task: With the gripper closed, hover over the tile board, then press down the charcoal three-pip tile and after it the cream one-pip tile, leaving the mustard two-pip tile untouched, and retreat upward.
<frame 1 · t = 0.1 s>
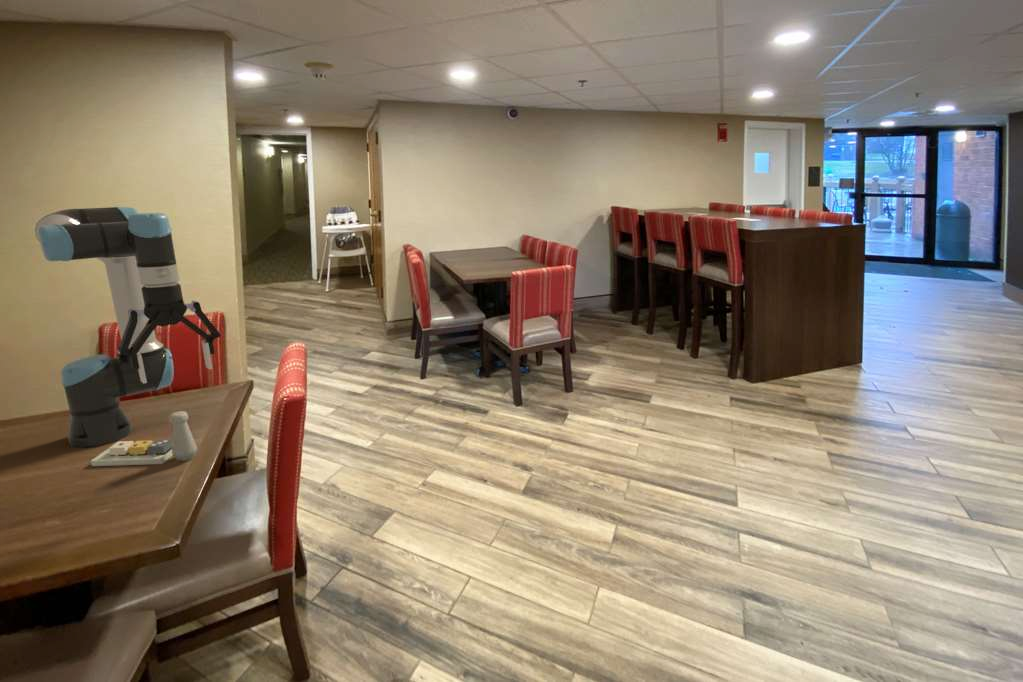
hand: (177, 374, 131), 28 cm above the table, fingers open, 13 cm apart
tile board: (137, 456, 152), on the table
tile 1: (121, 447, 151), point 3 cm above the table, slide at 0.0 cm
tile 2: (140, 447, 151), point 3 cm above the table, slide at 0.0 cm
salt shaker: (186, 458, 151), on the table
tile 3: (159, 446, 151), point 3 cm above the table, slide at 0.0 cm
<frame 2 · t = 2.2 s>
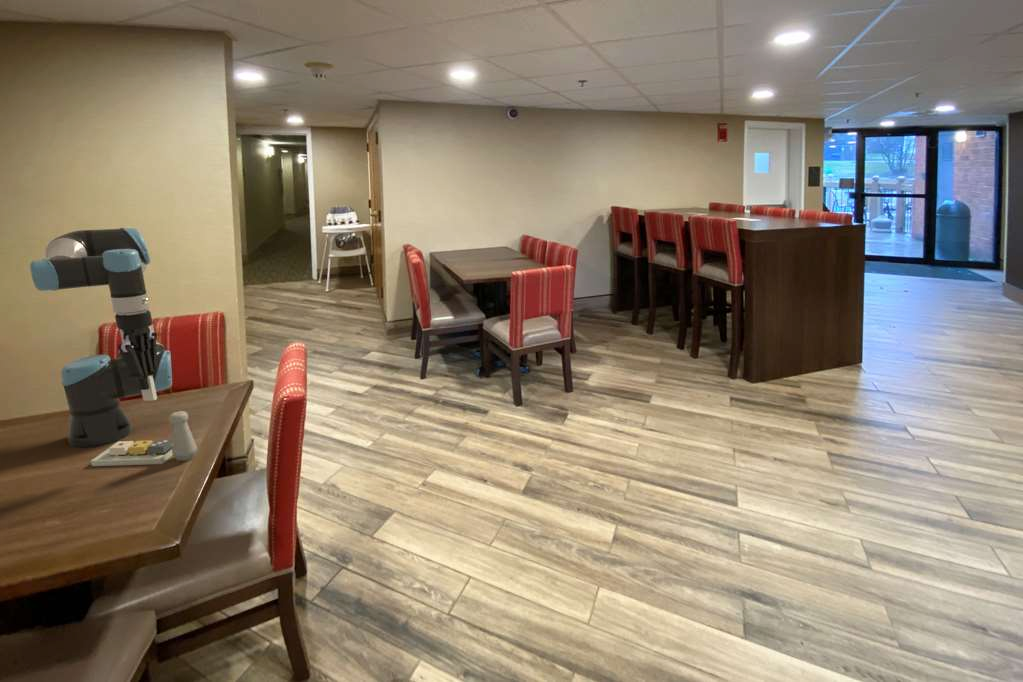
hand: (150, 399, 147), 16 cm above the table, fingers closed
nothing on the table moved.
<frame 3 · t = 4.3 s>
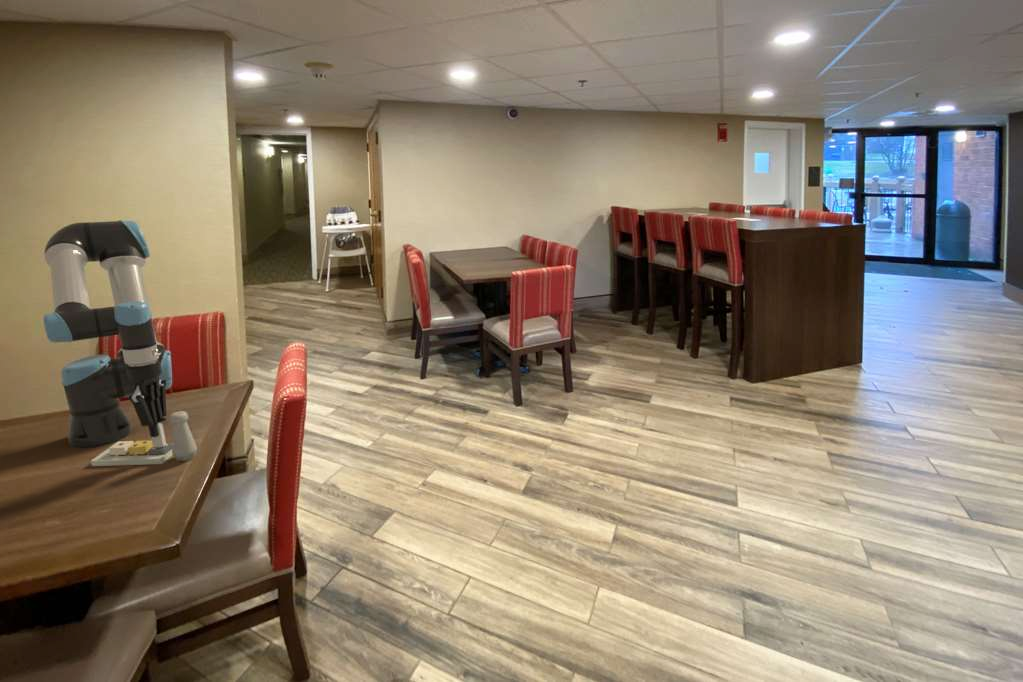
hand: (159, 445, 151), 3 cm above the table, fingers closed
tile 3: (160, 450, 151), point 2 cm above the table, slide at 1.0 cm, touching gripper
everything else where it was.
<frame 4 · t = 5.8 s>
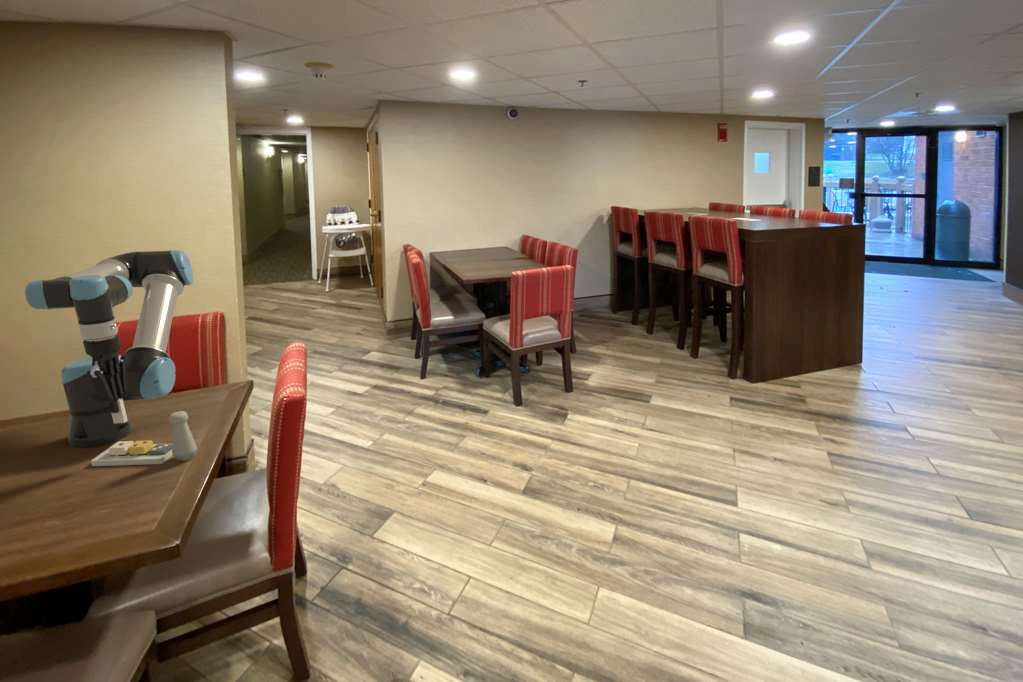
hand: (120, 421, 149), 10 cm above the table, fingers closed
tile 3: (160, 450, 151), point 2 cm above the table, slide at 1.2 cm
everything else where it was.
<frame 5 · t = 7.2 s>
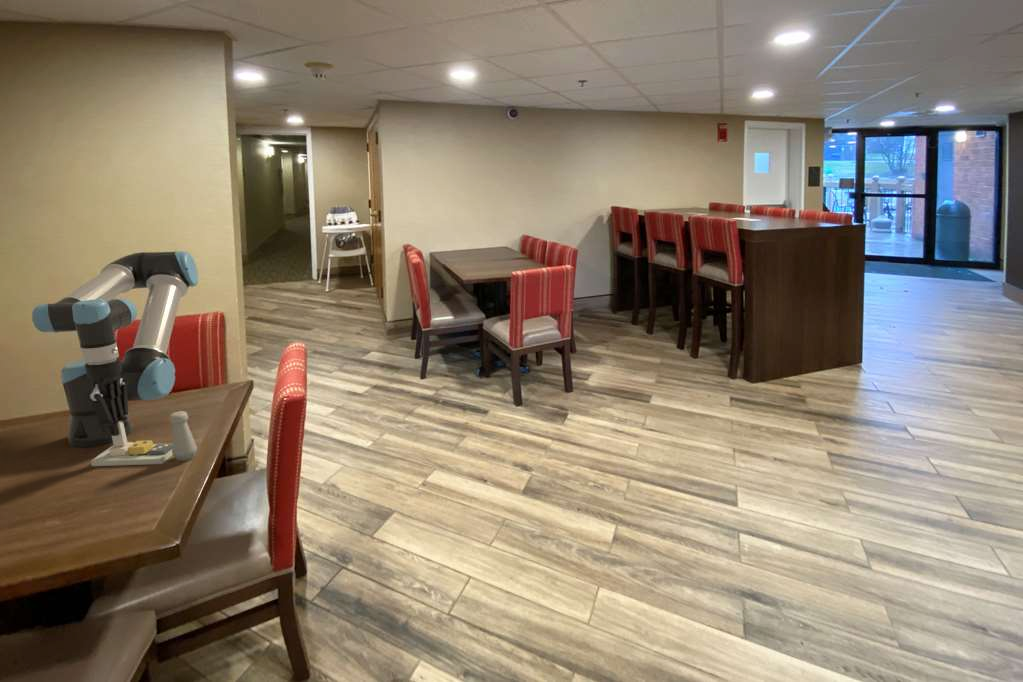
hand: (120, 444, 150), 4 cm above the table, fingers closed
tile 1: (122, 448, 151), point 3 cm above the table, slide at 0.3 cm, touching gripper
everything else where it was.
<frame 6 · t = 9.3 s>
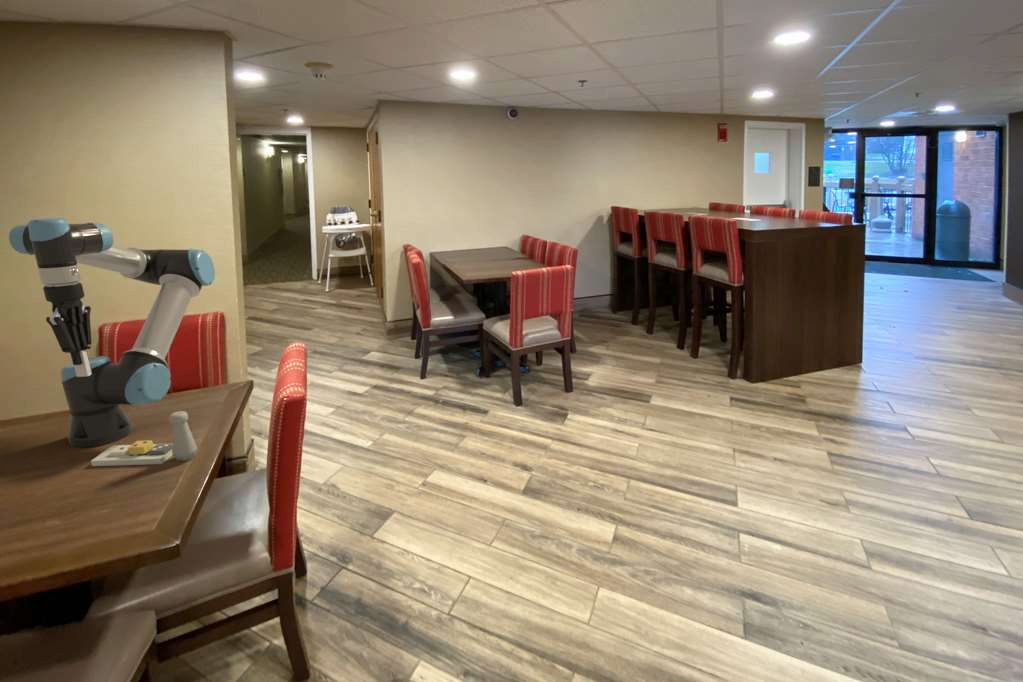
hand: (84, 375, 142), 24 cm above the table, fingers closed
tile 1: (122, 451, 151), point 2 cm above the table, slide at 1.2 cm
everything else where it was.
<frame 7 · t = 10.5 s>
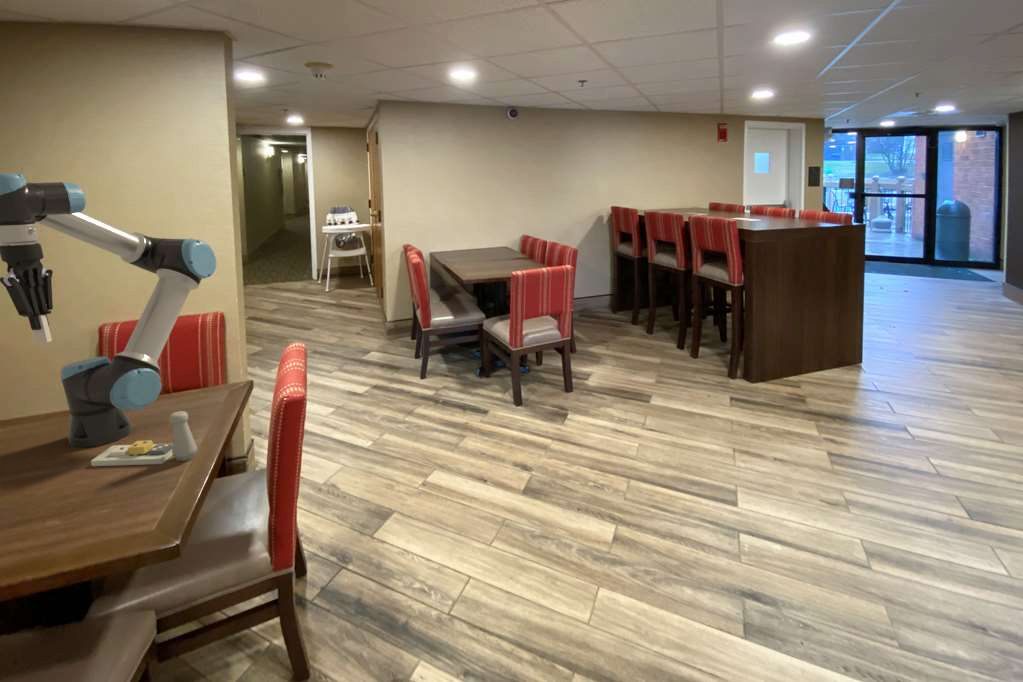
hand: (44, 341, 136), 34 cm above the table, fingers closed
nothing on the table moved.
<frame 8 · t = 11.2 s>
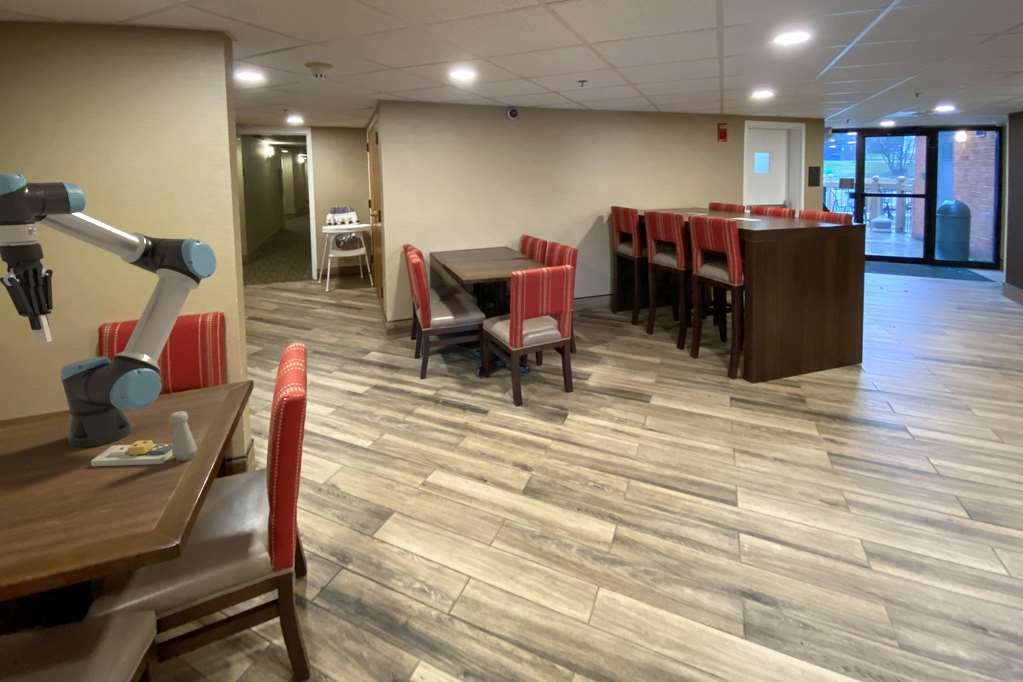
hand: (44, 341, 136), 34 cm above the table, fingers closed
nothing on the table moved.
at the end: tile 3 slide at 1.2 cm; tile 1 slide at 1.2 cm; tile 2 slide at 0.0 cm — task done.
